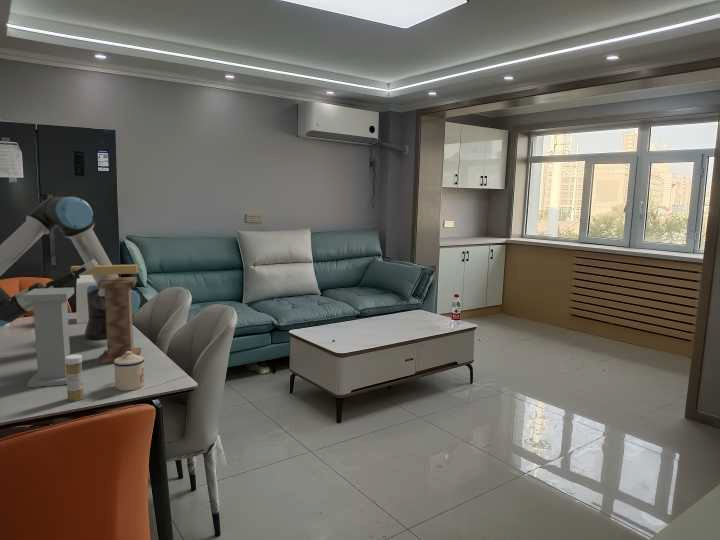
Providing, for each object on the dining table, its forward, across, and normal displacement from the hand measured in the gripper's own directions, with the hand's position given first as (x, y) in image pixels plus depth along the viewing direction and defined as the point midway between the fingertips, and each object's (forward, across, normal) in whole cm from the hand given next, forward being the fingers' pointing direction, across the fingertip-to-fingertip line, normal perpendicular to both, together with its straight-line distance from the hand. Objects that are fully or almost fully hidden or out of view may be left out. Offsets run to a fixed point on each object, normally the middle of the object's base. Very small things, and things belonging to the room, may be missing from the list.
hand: (95, 262), depth 192 cm
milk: (-31, -68, -25) cm, 79 cm away
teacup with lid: (-7, +32, -38) cm, 50 cm away
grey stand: (-28, +20, -26) cm, 43 cm away
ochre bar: (+1, 0, -5) cm, 5 cm away
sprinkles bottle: (-19, +40, -31) cm, 55 cm away
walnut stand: (-12, 0, -35) cm, 37 cm away
